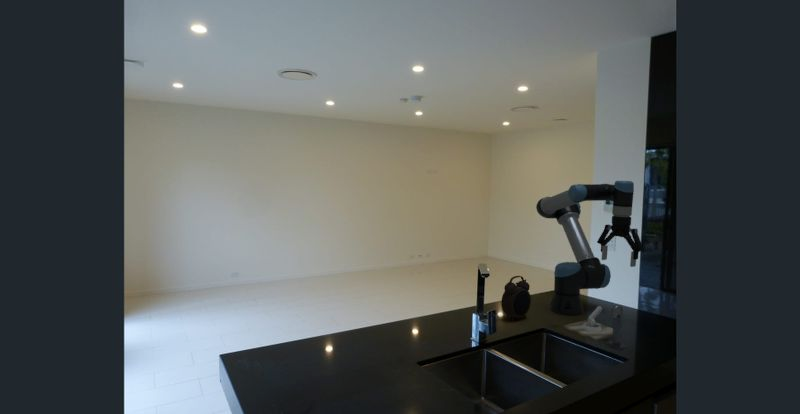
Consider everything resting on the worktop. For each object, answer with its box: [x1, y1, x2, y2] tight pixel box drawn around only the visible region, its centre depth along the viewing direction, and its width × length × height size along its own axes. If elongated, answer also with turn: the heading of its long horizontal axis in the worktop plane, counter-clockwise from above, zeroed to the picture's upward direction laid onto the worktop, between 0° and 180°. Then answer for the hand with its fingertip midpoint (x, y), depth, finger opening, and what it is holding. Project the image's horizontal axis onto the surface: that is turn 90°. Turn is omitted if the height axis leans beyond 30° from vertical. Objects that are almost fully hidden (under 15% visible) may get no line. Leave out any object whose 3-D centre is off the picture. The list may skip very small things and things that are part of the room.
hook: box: [582, 305, 603, 332], centre depth 172 cm, size 8×12×7 cm
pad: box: [562, 319, 623, 342], centre depth 173 cm, size 16×16×1 cm
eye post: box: [605, 304, 628, 350], centre depth 157 cm, size 6×5×16 cm
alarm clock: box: [501, 275, 532, 322], centre depth 188 cm, size 14×7×20 cm, turn 123°
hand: (618, 263), depth 181 cm, fingers open, 13 cm apart
